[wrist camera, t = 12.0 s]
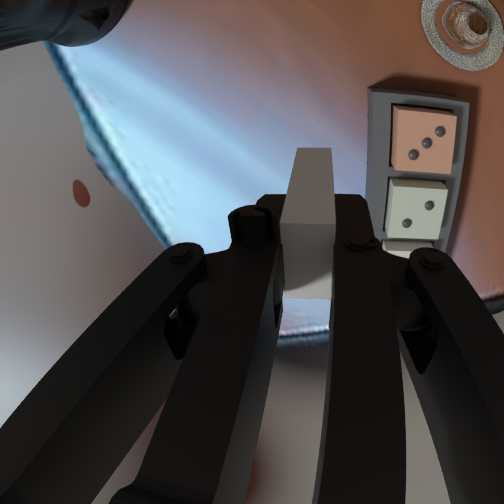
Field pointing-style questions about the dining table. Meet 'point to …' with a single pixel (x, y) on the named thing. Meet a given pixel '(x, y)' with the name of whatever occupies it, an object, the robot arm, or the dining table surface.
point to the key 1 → (403, 246)
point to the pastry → (465, 32)
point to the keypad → (382, 168)
